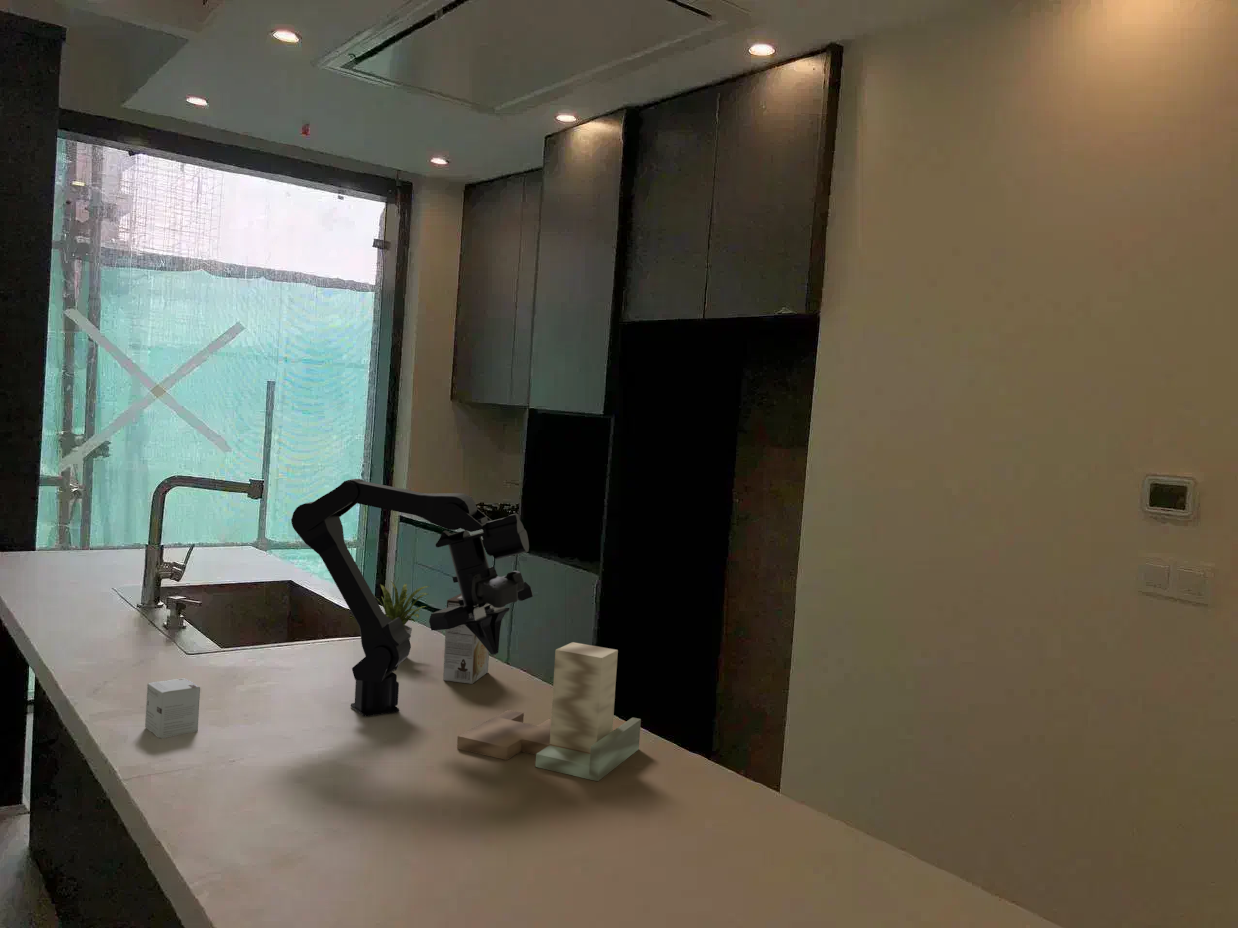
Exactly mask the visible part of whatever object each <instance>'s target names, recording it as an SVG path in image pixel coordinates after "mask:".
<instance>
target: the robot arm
mask: <svg viewBox="0 0 1238 928" xmlns="http://www.w3.org/2000/svg"><path fill="white" fill-rule="evenodd" d="M357 504H359V505H364V506H368V507H373V508H378V509H382V510H383V509H384V510H388V511H393V512H398V513H404V514H407V515H412V516H413V515H414V516H416V517H419V518H421V519H423V520H425V521H427V522H429V523H431V524H433V525H436V526H438V527H440V528H443V529H446V530H444V531H441V534H440V538H438V541H437V542H436V543H435V547H436V548H441V547H445V546H448V549H449V552H450V556H451V559H452V564H453V568H454V570H455V571H454V572H455V576H452V577H451V578H452V581H453V583H457V584H458V587H459V590H460V594H461V595H462V598H463V599H460V600H458V601H459V604H460V606H457V607H448V608H447V607H446V608H442V609H440V610H436V611H434V612H432V613H430V616H429V620H428V623H429V626H430V630H431V631H443V630H445V631H446V629H451V628H455V627H457V626H460V625H465V626H466V627H467V628H468V629H469V630H470V631H471V632H473V633H474V634H475V636H476V637H477V638H478V639H479V640H480V641H481V643H482V644H483V645H484V646H485V648H486V649H487V650H488V651H489V655H491V656H494V655H498V654H499V651H500V650H499V648H500V637H501V626H502V621H503V619H504V617H505V615H506V613H508V612H510V610H511V607H506V605H509V604H512V603H514V604H515V603H516V602H518V601H519V602H523V601H525V600H527V599H530V598H533V597H534V594H533V590H532V587H531V586H530V584H528V583H527V582H526V581H524V578H523V575H522V573H521V572H520V571H518V570H513V571H509V572H507V574H506V575H502V576H499V575H498V573H497V569H496V568H495V567H494V566H489V562H488V558H487V555H488V556H489V557H493V559H495V560H501V559H504V558H510V557H512V556H513V557H514V556H515V555H521V554H524V553H528V552H529V549H530V542H529V537H528V532H527V530H526V529H525V528H524V527H525V526H524V524H523V522H522V521H521V520H520V517H519V514H518V513H513V514H510V515H508V516H506V517H502V518H498V519H494V520H493V519H491V518H490V517H488V516H487V515H486V514H485V513H484V512H482V511H481V510H480V509H479V508H477V504H476V502H475V500H474V499H473V498H472V496H470V495H468V494H466V493H462V492H461V493H453V492H452V493H451V492H449V493H448V492H445V493H444V492H441V493H440V492H439V493H437V492H436V493H431V492H430V493H429V492H428V493H425V492H420V491H414V490H411V489H404V488H399V487H396V486H389V485H385V484H379V483H376V482H375V483H374V482H372V481H371V482H370V481H366V480H363V479H361V478H353V479H352V478H350V479H346V480H344V481H343V482H342V483H341V484H340V485H338V486H337V487H335V488H334V489H333V490H330V491H328V492H327V493H326V494H324V495H322V496H321V497H318V498H317V499H316V500H313V501H310V502H306V503H302V504H299V505H298V506H297V507H296V508H295V509H294V511H293V513H292V516H291V519H290V521H291V523H290V524H291V526H292V528H293V530H294V532H296V534H297V535H298V536H299V537H300V539H301V540H302V541H303V543H304V544H305V545H307V546H308V547H309V548H310V549H311V550H313V551H314V552H315V553H316V554H318V556H319V557H320V558H321V561H323V563H324V565H325V568H326V569H327V571H328V572H329V575H330V577H331V578H332V580H333V582H334V584H335V586H336V587H337V589H338V592H340V595H341V596H342V598H343V600H344V602H345V603H346V605H347V607H348V609H349V611H350V612H351V614H352V616H353V618H354V620H355V622H356V623H357V625H358V627H359V632H360V633H359V634H360V642H361V647H362V649H363V652H364V655H365V656H364V657H363V658H362V659H361V660H359V662H357V663H356V664H355V665H354V666H353V667H352V668H351V670H352V674H353V678H354V680H355V689H354V690H355V691H354V702H353V703H350V708H352V709H353V710H354V711H356V712H357V713H359V715H360V716H363V717H370V716H371V717H373V716H379V715H386V714H393V713H398V712H400V708H399V707H398V704H399V691H400V687H399V686H400V682H398V679H397V678H398V675H397V673H395V671H397V670H398V669H399V666H400V664H401V663H402V662H403V661H405V660H406V659H407V658H408V657H409V655H410V652H411V647H412V645H411V642H410V641H409V639H408V638H410V639H411V637H412V634H411V635H410V634H409V633H407V631H406V630H405V628H404V626H403V623H402V621H401V619H400V617H398V618H396V619H394V620H393V621H392V620H391V619H390V618H389V617H387V616H386V615H385V614H386V613H385V612H384V611H383V609H382V608H381V606H380V604H379V601H378V600H377V598H376V596H375V594H374V593H373V592H372V590H371V588H370V586H369V584H368V582H367V580H366V578H365V577H364V576H363V574H362V571H361V570H360V568H359V567H358V565H357V563H356V561H355V559H354V558H353V556H352V554H351V551H350V550H349V548H348V546H347V545H346V542H345V534H344V527H343V524H342V521H341V517H342V516H343V515H345V514H347V512H349V511H350V510H351V509H353V507H354V506H356V505H357ZM460 529H462V531H457V530H460ZM481 530H482V531H481ZM449 531H457V532H455V533H451V532H449ZM477 531H481V532H478V533H473V532H477ZM470 533H473V534H470ZM463 605H464V607H463Z"/></svg>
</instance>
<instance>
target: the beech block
mask: <svg viewBox="0 0 1238 928" xmlns="http://www.w3.org/2000/svg"><path fill="white" fill-rule="evenodd" d="M618 653H619V650H618V649H615V648H610V647H609V648H608V647H603V646H598V645H591V644H585V643H581V642H574V641H572V642H570V643H568V644H567V643H566V644H565V645H563V646H561V647H558V648H556V649H555V653H554V669H553V687H552V702H551V718H550V719H551V731H550V744H552V745H557V746H561V747H566V748H570V749H575V750H579V751H584V752H588V753H591V746H592V745H593V744H595V743H596V742H598V741H599V740H601V739H602V738H603V737H605V736H606V735H608V734H609V733H611V732H612V731H614V730H613V728H614V717H615V715H614V713H615V701H616V700H615V699H616V684H617V683H616V682H617V669H618Z"/></svg>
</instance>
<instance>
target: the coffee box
mask: <svg viewBox="0 0 1238 928" xmlns="http://www.w3.org/2000/svg"><path fill="white" fill-rule="evenodd" d="M460 599H463V598H462V595H461V593H459V594H456V595H455V596H453V597H450V598H448V599H447V600H446V608H448V607H457V606H460V604H459V601H458V600H460ZM463 607H464V605H463ZM444 638H445V639H444V653H443V654H444V655H443V657H444V658H443V674H442V675H443V676H442V678H443V679H442V680H443V681H447V682H455V683H463V684H470V685H472V684H474V683H475V682H477V681H478V680H480V679H481V678H482V677H483V676H485V675H486V674H488V673H489V661H490V652H489V651H488V650H487V649H486V648H485V646H484V645H483V644H482V643H481V641H480V640H479V639H478V638H477V637H476V636H475V634H474V633H473V632H471V631H470V630H469V629H468V628H467V627H466V626H465V625H460V626H457V627H455V628H451V629H445V637H444Z"/></svg>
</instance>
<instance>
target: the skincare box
mask: <svg viewBox="0 0 1238 928" xmlns="http://www.w3.org/2000/svg"><path fill="white" fill-rule="evenodd" d="M200 698H201V687H200V686H199V685H197V684H196V683H195V682H193V681H191V680H189V679H187V678H185V677H181V678H174V679H168V680H160V681H152V682H148V683H147V685H146V702H145V703H146V705H145V718H144V720H145V723H144V728H145V729H147V730H148V731H149V732H151V733H152V734H153V735H155V736H156V737H157V739H165V738H166V739H167V738H170V737H176V736H179V735H186V734H191V733H195V732H198V731H199V718H200Z"/></svg>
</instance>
